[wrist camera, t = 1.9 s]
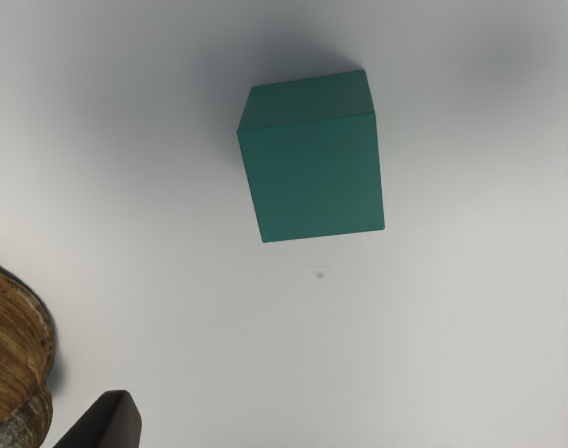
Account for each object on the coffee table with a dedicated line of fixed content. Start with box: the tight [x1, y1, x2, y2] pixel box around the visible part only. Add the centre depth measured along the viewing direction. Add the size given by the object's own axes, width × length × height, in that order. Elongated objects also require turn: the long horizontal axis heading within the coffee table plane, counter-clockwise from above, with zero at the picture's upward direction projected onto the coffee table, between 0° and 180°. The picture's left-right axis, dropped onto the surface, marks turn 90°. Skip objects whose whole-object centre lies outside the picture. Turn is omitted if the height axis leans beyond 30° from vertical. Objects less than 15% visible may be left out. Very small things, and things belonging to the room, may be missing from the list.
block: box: [237, 70, 385, 243], centre depth 18 cm, size 4×4×4 cm
